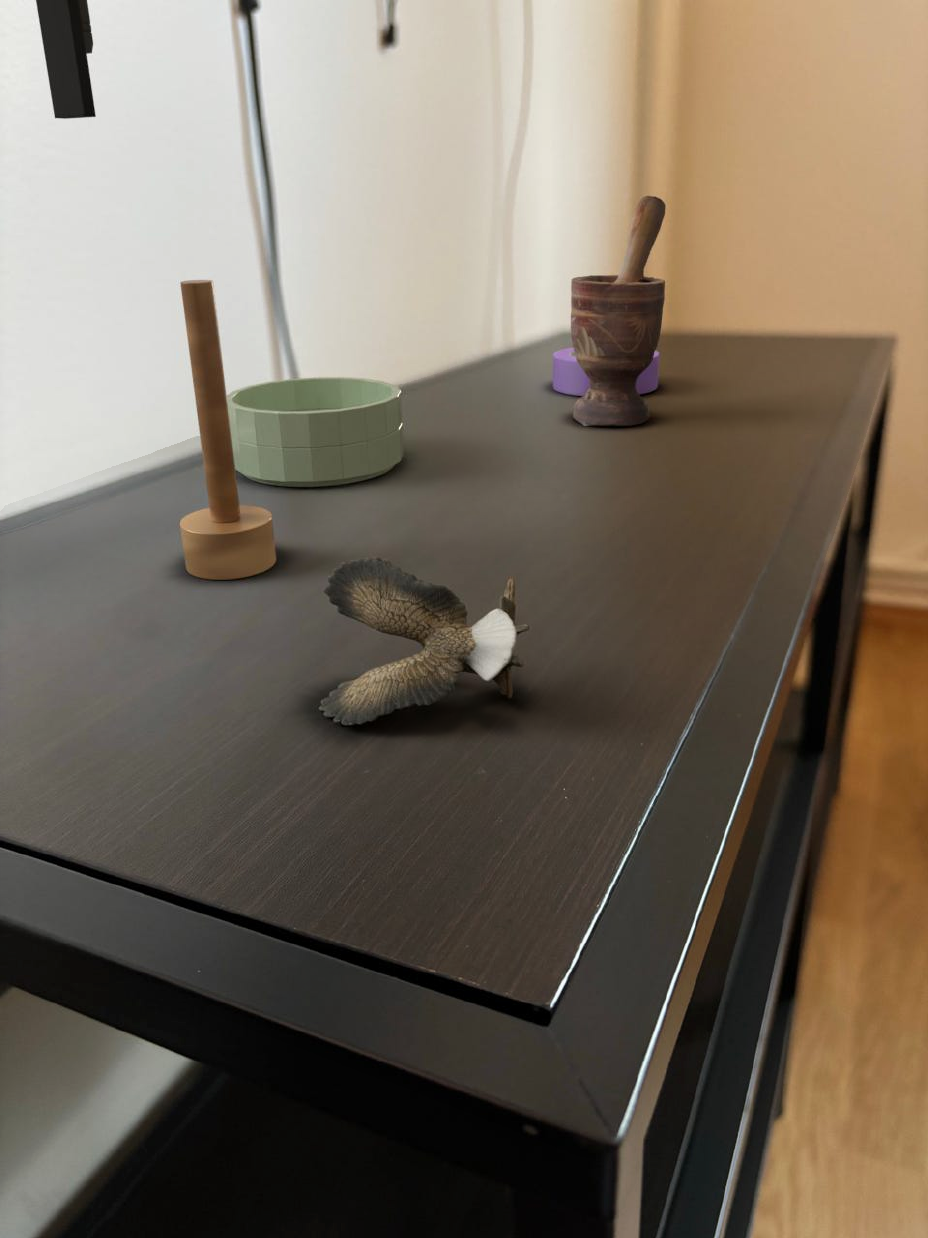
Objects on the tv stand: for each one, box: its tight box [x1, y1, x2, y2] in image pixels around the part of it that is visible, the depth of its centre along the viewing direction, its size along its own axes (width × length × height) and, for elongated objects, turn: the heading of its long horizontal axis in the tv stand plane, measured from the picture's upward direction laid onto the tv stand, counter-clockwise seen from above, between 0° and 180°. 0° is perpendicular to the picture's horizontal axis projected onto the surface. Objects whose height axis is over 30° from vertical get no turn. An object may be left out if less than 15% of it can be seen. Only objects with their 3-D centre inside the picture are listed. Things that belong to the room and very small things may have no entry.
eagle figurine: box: [318, 556, 530, 726], centre depth 45 cm, size 8×7×9 cm
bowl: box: [226, 376, 405, 488], centre depth 82 cm, size 14×14×6 cm
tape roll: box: [552, 347, 660, 397], centre depth 110 cm, size 12×12×4 cm
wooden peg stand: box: [179, 279, 277, 581], centre depth 59 cm, size 6×6×17 cm
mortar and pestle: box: [570, 195, 667, 427], centre depth 94 cm, size 12×9×20 cm
